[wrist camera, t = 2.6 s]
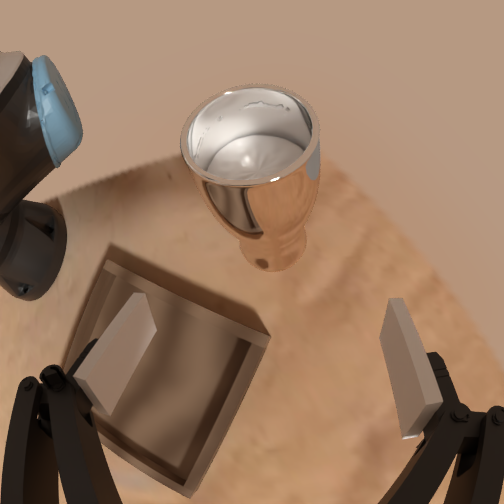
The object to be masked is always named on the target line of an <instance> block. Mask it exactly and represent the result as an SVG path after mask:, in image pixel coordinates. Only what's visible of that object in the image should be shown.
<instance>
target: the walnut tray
mask: <svg viewBox="0 0 504 504" xmlns="http://www.w3.org/2000/svg"><path fill="white" fill-rule="evenodd" d="M133 293H145V294H146V298H147V301H148V304H149V308H150V311H151V314H152V317H153V320H154V323H155V326H156V329H157V331H156V333H155V334H154V336H153V338H152V340H151V341H150V343H149V345H148V347H147V349H146V350H145V352H144V354H143V356H142V358H141V359H140V361H139V363H138V365H137V367H136V369H135V370H134V372H133V374H132V376H131V378H130V380H129V381H128V383H127V385H126V387H125V389H124V391H123V393H122V395H121V397H120V398H119V400H118V402H117V404H116V406H115V408H114V410H113V412H112V414H111V416H109V415H106V414H103V413H100V412H98V411H97V410H96V408H95V407H94V406H92V408H91V411H92V413H93V416H94V420H95V424H96V428H97V432H98V435H99V439H100V442H101V443H102V444H103V445H105V446H106V447H107V448H108V449H110V450H111V451H113V452H114V453H115V454H117V455H118V456H119V457H121V458H122V459H124V460H125V461H127V462H128V463H130V464H131V465H133V466H134V467H136V468H137V469H139V470H140V471H142V472H143V473H145V474H147V475H148V476H150V477H151V478H153V479H155V480H156V481H158V482H160V483H162V484H163V485H165V486H167V487H169V488H170V489H172V490H174V491H176V492H178V493H180V494H182V495H183V496H185V497H187V498H189V499H190V498H191V497H192V496H193V494H194V493H195V492H196V491H197V489H198V487H199V486H200V484H201V482H202V480H203V478H204V476H205V474H206V472H207V471H208V469H209V467H210V465H211V463H212V461H213V459H214V457H215V455H216V453H217V451H218V449H219V447H220V445H221V443H222V441H223V439H224V437H225V435H226V433H227V431H228V429H229V427H230V425H231V423H232V421H233V419H234V417H235V415H236V413H237V411H238V409H239V407H240V405H241V402H242V400H243V398H244V396H245V394H246V392H247V390H248V388H249V385H250V383H251V381H252V379H253V377H254V375H255V372H256V370H257V368H258V366H259V363H260V361H261V359H262V357H263V355H264V352H265V350H266V348H267V345H268V343H269V341H270V339H271V336H268V335H266V334H263V333H261V332H258V331H256V330H254V329H251V328H249V327H247V326H244V325H242V324H240V323H237V322H235V321H233V320H231V319H228V318H226V317H224V316H222V315H219V314H217V313H215V312H213V311H211V310H208V309H206V308H204V307H202V306H200V305H198V304H195V303H193V302H191V301H189V300H187V299H185V298H183V297H181V296H179V295H177V294H174V293H172V292H170V291H168V290H166V289H164V288H162V287H160V286H158V285H156V284H154V283H152V282H150V281H148V280H146V279H144V278H142V277H141V276H139V275H137V274H135V273H133V272H131V271H129V270H127V269H125V268H123V267H121V266H120V265H118V264H116V263H114V262H112V261H110V260H108V259H107V260H106V263H105V265H104V267H103V269H102V271H101V273H100V276H99V278H98V280H97V282H96V285H95V287H94V289H93V291H92V294H91V296H90V298H89V301H88V303H87V306H86V308H85V311H84V313H83V316H82V318H81V321H80V323H79V326H78V329H77V331H76V334H75V337H74V340H73V342H72V345H71V348H70V351H69V354H68V357H67V360H66V363H65V366H64V369H63V372H64V373H65V375H66V374H67V372H68V371H69V369H70V368H71V367H72V365H73V364H74V362H75V361H76V360H77V358H79V355H80V354H81V353H82V352H83V350H84V348H85V347H86V346H87V344H88V343H90V342H91V341H92V340H94V339H95V338H97V339H99V338H100V337H101V336H102V334H103V333H104V331H105V330H106V329H107V327H108V326H109V325H110V323H111V322H112V321H113V319H114V318H115V317H116V315H117V314H118V313H119V311H120V310H121V309H122V307H123V306H124V305H125V303H126V302H127V301H128V300H129V298H130V297H131V296H132V294H133Z"/></svg>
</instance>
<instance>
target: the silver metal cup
mask: <svg viewBox="0 0 504 504" xmlns="http://www.w3.org/2000/svg"><path fill="white" fill-rule="evenodd" d="M319 135H320V125H319V120H318V117H317V115H316V113H315V111H314V109H313V108H312V106H311V105H310V104H309V103H308V102H307V101H306V100H305V99H304V98H302V97H301V96H300V95H298V94H296V93H295V92H293V91H290V90H288V89H286V88H283V87H279V86H275V85H268V84H248V85H241V86H236V87H232V88H229V89H226V90H224V91H221V92H219V93H217V94H215V95H213V96H211V97H210V98H208V99H207V100H205V101H204V102H203V103H202V104H200V105H199V106H198V107H197V108H196V109H195V110H194V111H193V112H192V113H191V115H190V116H189V118H188V119H187V121H186V123H185V125H184V127H183V130H182V133H181V139H180V148H181V153H182V156H183V158H184V160H185V162H186V164H187V165H188V168H189V170H190V173H191V175H192V178H193V180H194V182H195V184H196V187H197V189H198V191H199V193H200V195H201V197H202V199H203V200H204V202H205V204H206V206H207V207H208V209H209V210H210V212H211V213H212V214H213V216H214V217H215V219H216V220H217V221H218V222H219V223H220V224H221V225H222V226H223V227H224V228H225V229H226V230H227V231H228V232H229V233H231V234H232V235H233V236H234V237H236V238H237V239H238V240H239V245H240V249H241V252H242V254H243V256H244V257H245V259H246V260H247V261H248V262H249V263H250V264H251V265H252V266H254V267H255V268H257V269H259V270H262V271H266V272H279V271H283V270H286V269H288V268H290V267H291V266H293V265H294V264H295V263H297V262H298V261H299V259H300V258H301V257H302V255H303V253H304V251H305V248H306V243H307V235H306V230H305V227H304V226H305V224H306V222H307V220H308V218H309V217H310V214H311V212H312V210H313V207H314V204H315V202H316V198H317V194H318V188H319V182H320V166H321V163H320V142H319Z"/></svg>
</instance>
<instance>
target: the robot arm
mask: <svg viewBox="0 0 504 504" xmlns="http://www.w3.org/2000/svg"><path fill="white" fill-rule="evenodd" d="M82 136H83V130H82V124H81V121H80V118H79V115H78V112H77V110H76V107H75V105H74V102H73V100H72V98H71V96H70V93H69V91H68V89H67V87H66V85H65V83H64V81H63V79H62V77H61V75H60V73H59V72H58V70H57V68H56V67H55V65H54V64H53V62H52V61H51V60H50V59H49V58H48V57H47V56H45V55H42V56H40V57H39V58H38V57H37V58H35V59H34V60H33V62H30V61H29V60H28V59H27V58H26V57H25V55H24V54H23V53H22V52H21V51H16V52H6V53H3V52H0V286H1V287H3V288H4V289H5V290H6V291H7V292H8V293H10V294H11V295H12V296H14V297H16V298H19V299H22V300H26V301H33V300H36V299H38V298H40V297H41V296H42V295H44V294H45V293H46V292H47V291H48V289H49V288H50V287H51V285H52V284H53V282H54V281H55V279H56V277H57V275H58V273H59V270H60V268H61V265H62V262H63V258H64V254H65V249H66V226H65V222H64V220H63V218H62V216H61V214H60V213H59V212H58V211H56V210H55V209H53V208H52V207H50V206H49V205H46V204H43V203H38V202H32V201H27V200H22V199H23V198H24V197H25V196H26V195H27V194H28V193H29V192H30V191H31V190H32V189H33V188H34V187H35V186H36V185H37V184H38V183H39V182H40V181H41V180H43V179H44V177H46V176H47V175H48V174H49V173H50V172H51V171H52V170H53V169H54V168H58V167H60V165H61V162H62V161H63V160H65V158H67V157H68V156H69V155H70V154H71V153H72V152H73V151H74V150H76V149H77V147H78V146H79V145H80V143H81V140H82ZM156 331H157V329H156V326H155V323H154V320H153V317H152V314H151V311H150V308H149V304H148V301H147V298H146V294H145V293H133V294H132V296H131V297H130V298H129V300H128V301H127V302H126V303H125V305H124V306H123V307H122V309H121V310H120V311H119V313H118V314H117V315H116V317H115V318H114V319H113V321H112V322H111V323H110V325H109V326H108V327H107V329H106V330H105V331H104V333H103V334H102V336H101V337H100V338H99V339H97V338H95V339H94V340H92V341H91V342H90V343H88V344H87V346H86V347H85V348H84V350H83V352H82V353H81V354H80V355H79V358H77V360H76V361H75V362H74V364H73V365H72V367H71V368H70V369H69V371H68V372H67V374H66V375H65V373H64V372H63V370H62V369H61V367H60V366H58V365H55V364H54V365H49V366H47V367H46V368H44V369H43V370H42V372H41V373H40V377H39V378H40V380H41V381H42V382H43V383H39V382H38V380H37V379H36V378H35V377H33V376H29V377H26V378H24V379H23V380H22V381H21V382H20V384H19V387H18V390H17V394H16V398H15V402H14V406H13V410H12V415H11V420H10V425H9V430H8V435H7V441H6V447H5V454H4V462H3V471H2V483H1V504H59V491H58V470H59V474H60V478H61V483H62V487H63V491H64V494H65V498H66V501H67V504H123V503H122V501H121V499H120V496H119V494H118V491H117V489H116V486H115V484H114V481H113V478H112V476H111V473H110V470H109V467H108V464H107V461H106V458H105V455H104V452H103V449H102V445H101V442H100V439H99V435H98V432H97V428H96V424H95V420H94V416H93V413H92V411H91V408H92V406H94V407H95V408H96V410H97V411H98V412H100V413H103V414H106V415H109V416H111V414H112V412H113V410H114V408H115V406H116V404H117V402H118V400H119V398H120V397H121V395H122V393H123V391H124V389H125V387H126V385H127V383H128V381H129V380H130V378H131V376H132V374H133V372H134V370H135V369H136V367H137V365H138V363H139V361H140V359H141V358H142V356H143V354H144V352H145V350H146V349H147V347H148V345H149V343H150V341H151V340H152V338H153V336H154V334H155V333H156ZM379 339H380V342H381V346H382V349H383V353H384V357H385V361H386V365H387V369H388V373H389V377H390V381H391V386H392V390H393V394H394V399H395V404H396V408H397V413H398V418H399V423H400V429H401V434H402V439H407V438H413V437H418V436H419V435H420V433H421V432H422V431H423V432H424V439H423V440H422V441H421V442H420V444H419V445H418V446H417V447H416V448H417V450H416V451H415V453H414V455H413V456H412V458H411V459H410V461H409V462H408V464H407V465H406V467H405V468H404V470H403V471H402V472H401V474H400V475H399V477H398V478H397V479H396V481H395V482H394V484H393V485H392V486H391V488H390V489H389V490H388V492H387V493H386V494H385V495H384V497H383V498H382V499H381V500H380V502H379V503H378V504H429V502H430V500H431V499H432V497H433V496H434V494H435V492H436V491H437V489H438V487H439V486H440V484H441V482H442V480H443V479H444V477H445V475H446V473H447V471H448V469H449V468H450V466H451V464H452V462H453V460H454V458H455V456H456V454H457V458H456V462H455V466H454V470H453V474H452V478H451V481H450V485H449V488H448V491H447V494H446V497H445V501H444V503H443V504H498V503H499V499H500V495H501V490H502V485H503V480H504V407H501V406H493V407H491V408H490V409H489V411H488V412H487V413H485V412H473V411H470V409H469V408H468V407H467V406H466V405H465V404H463V403H460V401H459V399H458V396H457V393H456V391H455V388H454V385H453V383H452V380H451V377H449V372H448V370H447V369H446V368H447V367H446V365H445V363H444V360H443V359H442V358H441V356H440V355H439V354H438V353H437V352H431V353H426V352H425V349H424V347H423V344H422V342H421V339H420V337H419V334H418V332H417V330H416V327H415V325H414V323H413V320H412V318H411V316H410V314H409V311H408V309H407V307H406V305H405V303H404V300H403V298H389V301H388V306H387V310H386V314H385V318H384V322H383V326H382V330H381V333H380V337H379ZM38 415H39V416H38ZM37 416H38V419H37Z"/></svg>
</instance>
